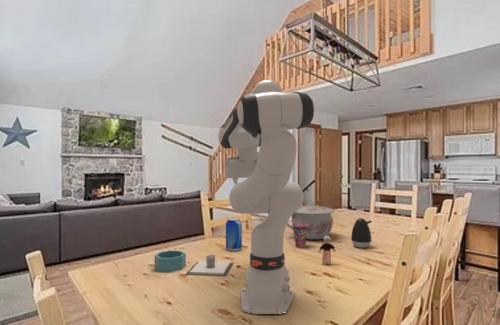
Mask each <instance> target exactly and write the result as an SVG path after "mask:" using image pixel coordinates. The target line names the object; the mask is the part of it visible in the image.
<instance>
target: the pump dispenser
mask: <svg viewBox="0 0 500 325" xmlns="http://www.w3.org/2000/svg"><path fill="white" fill-rule="evenodd" d="M371 223H372V220H365V219H364V218H357V219H356V221H355V222H354V224H353V227H352V231H351V236H350V240H351V242H352V244H353V246H354V247H356V248H359V249H366V248H368V247H369V246H370V245H371V243H372V234H371V230H370V227H369V224H371Z"/></svg>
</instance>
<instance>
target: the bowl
mask: <svg viewBox="0 0 500 325" xmlns="http://www.w3.org/2000/svg"><path fill="white" fill-rule="evenodd" d="M186 255H187V253H186V252H184V251H182V250H172V249H169V250H165V251H160V252H158V253H156V254H155V255H154V270H155V271H157V272H161V273H173V272H177V271H181V270H182V271H183V269H184V268H185V267H186V266H187V261H186V260H187V259H186V258H187V257H186Z"/></svg>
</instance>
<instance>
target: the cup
mask: <svg viewBox="0 0 500 325" xmlns="http://www.w3.org/2000/svg"><path fill="white" fill-rule="evenodd" d="M308 225H310V224H305V223H295V224H292V223H291V226H293V230H294V231H293V230H292V231H293V236H294V238H293V239H294V244H295V248H297V249H304V248H306V242H307V239H306V236H307V228H308Z"/></svg>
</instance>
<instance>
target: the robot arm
mask: <svg viewBox="0 0 500 325" xmlns="http://www.w3.org/2000/svg"><path fill="white" fill-rule="evenodd" d="M314 106H315V105H314V100H313V99H312V98H311V97H310V95H309V94H307V93H304V92H302V91H301V92H300V91H291V92H290V91H287V92H286V91H283V89H282V87H281V85H279V84H278V82H276V81H274V80H272V79H264V80H261V81H259V82H258V83H256V85H254V87H253V89H252V90H251V92H250V93H248V94H244V95H242V96H241V97H240V99H239V102H238V105H237V107H236V108H234V109H232V112H231V113H230V115H229V116H228V117H227V119H226V121H225V122H224V123H223V124H222V125H221V126H220V128H219V131H218V135H217V136H218V144H219V145H220V146H221V147H223V148H224V149H227V150H228V149H236V155H235V156H234V155H233V156H231V155H230V156H228V157H226V158H225V161H224V162H225V163H224V164H225V168H224V177H225V178H227V179H232V181H233V184H234V185H233V186H232V187H231V190H230V192H229V195H228V198H229V199H228V200H229V203H230V204H229V205H230V206H231V208H232V210H234V212H236V213H241V214H247V215H256V214H259V215H260V214H267V218H265V220H264V221H262V222H261V223H258V224H257V225H255V226H254V227H253V229H251V233H250V249H251V250H250V254H249V266H248V267H246V282H244V287H243V288H241V289H240V292H239V293H240V304H241V306H240V307H241V311H242V312H244V313H246V312H247V313H248V314H250V313H252V314H251V315H257V314H279V313H283V312H286V311H287V310H288V311H289V309H290V307H291V305H292V303H293V301H294V298H295V296H296V292H295V291H294V290H293V289H292V290H291V289H290V288H291V286H290V272H289V271H290V270H289V269H288V268H287V266H285V259H286V258H285V253H284V237H285V236H284V235H285V229H286V226H287V225H286V224H287V223H289V220H290V219H291V218H292V215H293V214H294V213H295V212H296V211H297V210H299V208H300V207H301V206H303V202H304V199H305V198H304V192H303V191H304V190H303V189H302V187H301V186H300V184H298V183H295V182H291V181H290V178H291V175H292V172H293V169H294V165H295V161H296V157H297V156H296V155H297V147H298V146H297V140H296V137H295V136H294V134H293V133H292V132H291V131H290V130H295V129H296V130H300V129H303V128H306V127H309V125H310V124H311V123H312V121H313V119H314V115H315V107H314ZM258 148H259V151H258ZM242 178H243V179H244V178H245V179H244V180H242V181H241V182H239V183H238V181H239V179H242ZM292 300H293V301H292ZM291 302H292V303H291ZM290 304H291V305H290ZM289 306H290V307H289ZM288 308H289V309H288ZM288 311H287V312H288Z"/></svg>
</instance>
